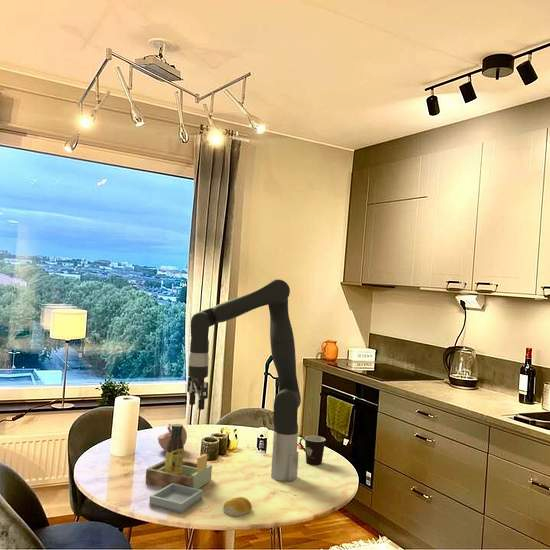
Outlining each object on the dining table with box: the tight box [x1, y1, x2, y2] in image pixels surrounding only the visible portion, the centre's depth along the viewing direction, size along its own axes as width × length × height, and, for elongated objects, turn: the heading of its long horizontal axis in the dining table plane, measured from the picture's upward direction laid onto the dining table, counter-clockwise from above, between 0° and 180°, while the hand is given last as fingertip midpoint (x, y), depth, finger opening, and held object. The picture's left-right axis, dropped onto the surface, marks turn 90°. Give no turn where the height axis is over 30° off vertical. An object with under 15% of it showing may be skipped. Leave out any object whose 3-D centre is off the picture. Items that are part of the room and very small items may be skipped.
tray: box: [148, 483, 204, 515], centre depth 170 cm, size 12×13×3 cm
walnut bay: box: [145, 459, 213, 489], centre depth 188 cm, size 18×15×5 cm
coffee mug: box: [299, 435, 327, 467], centre depth 218 cm, size 12×9×10 cm
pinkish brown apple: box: [157, 423, 188, 452], centre depth 221 cm, size 12×12×11 cm
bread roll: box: [222, 496, 253, 517], centre depth 167 cm, size 8×9×4 cm
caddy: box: [157, 453, 212, 489], centre depth 188 cm, size 17×12×10 cm
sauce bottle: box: [165, 423, 185, 476], centre depth 189 cm, size 7×6×20 cm
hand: (196, 407), depth 198 cm, fingers open, 8 cm apart
